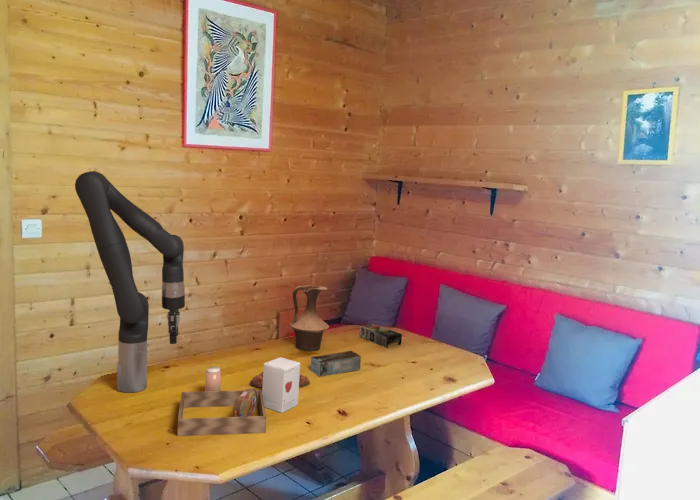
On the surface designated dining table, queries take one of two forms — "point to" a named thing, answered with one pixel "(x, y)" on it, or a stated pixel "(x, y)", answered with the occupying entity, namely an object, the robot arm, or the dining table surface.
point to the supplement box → (281, 384)
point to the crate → (220, 423)
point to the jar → (213, 379)
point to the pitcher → (308, 320)
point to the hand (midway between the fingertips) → (174, 339)
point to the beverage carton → (335, 363)
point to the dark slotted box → (379, 335)
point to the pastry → (258, 381)
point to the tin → (245, 404)
